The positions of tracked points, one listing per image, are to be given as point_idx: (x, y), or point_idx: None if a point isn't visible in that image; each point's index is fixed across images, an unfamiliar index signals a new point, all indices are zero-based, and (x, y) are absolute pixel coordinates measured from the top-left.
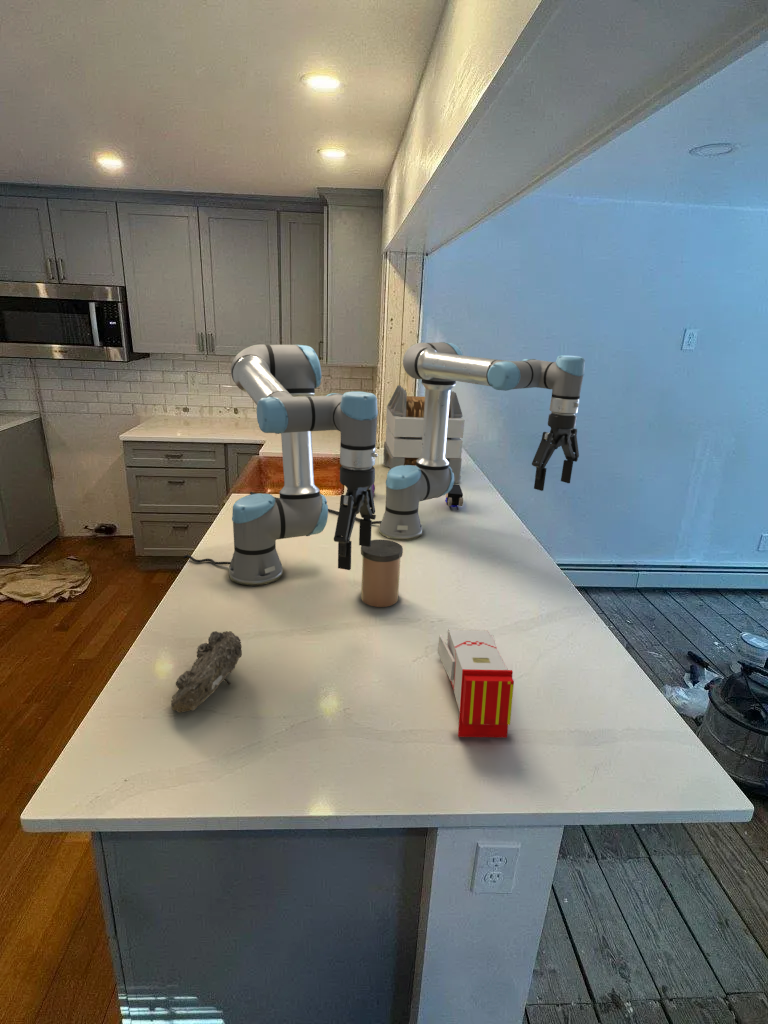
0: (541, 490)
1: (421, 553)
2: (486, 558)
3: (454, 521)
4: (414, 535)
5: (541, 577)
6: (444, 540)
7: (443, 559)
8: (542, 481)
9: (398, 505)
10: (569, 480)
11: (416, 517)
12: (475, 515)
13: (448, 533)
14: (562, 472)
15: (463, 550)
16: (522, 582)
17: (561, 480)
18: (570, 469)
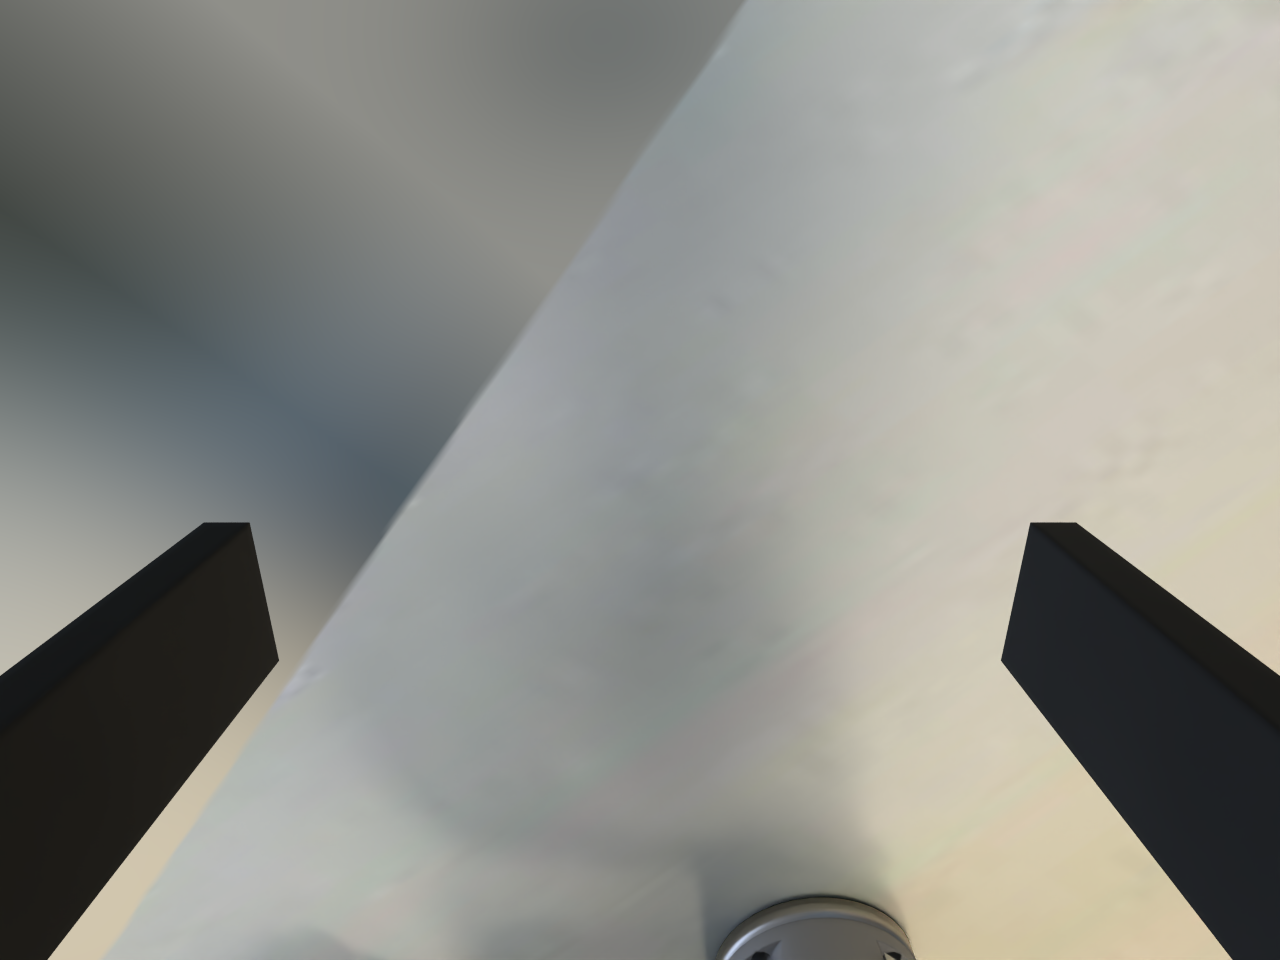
0: (1080, 531)
1: (931, 788)
2: (727, 596)
3: (492, 934)
4: (832, 913)
5: (685, 275)
6: (720, 825)
7: (908, 699)
8: (1190, 625)
9: None
10: (202, 546)
11: None
12: (334, 932)
13: (635, 864)
14: (189, 764)
15: (741, 713)
16: (830, 303)
17: (269, 657)
18: (59, 690)
